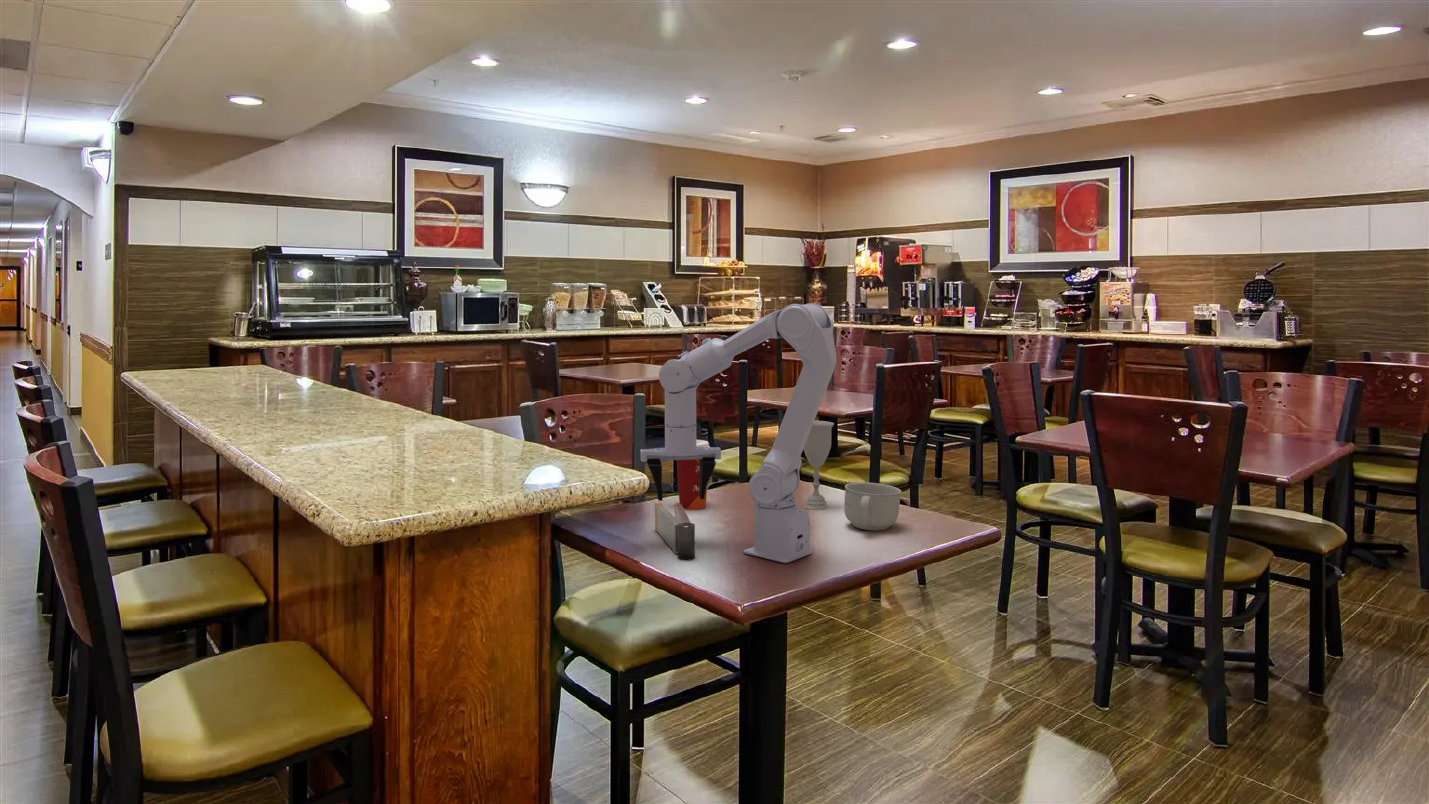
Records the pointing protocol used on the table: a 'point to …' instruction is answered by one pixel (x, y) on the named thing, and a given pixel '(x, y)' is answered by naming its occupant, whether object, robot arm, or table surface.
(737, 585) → the table surface
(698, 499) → the paper cup
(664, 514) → the tongs moving arm
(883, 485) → the teacup
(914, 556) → the table surface
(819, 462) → the chalice
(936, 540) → the table surface
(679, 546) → the tongs fixed arm
